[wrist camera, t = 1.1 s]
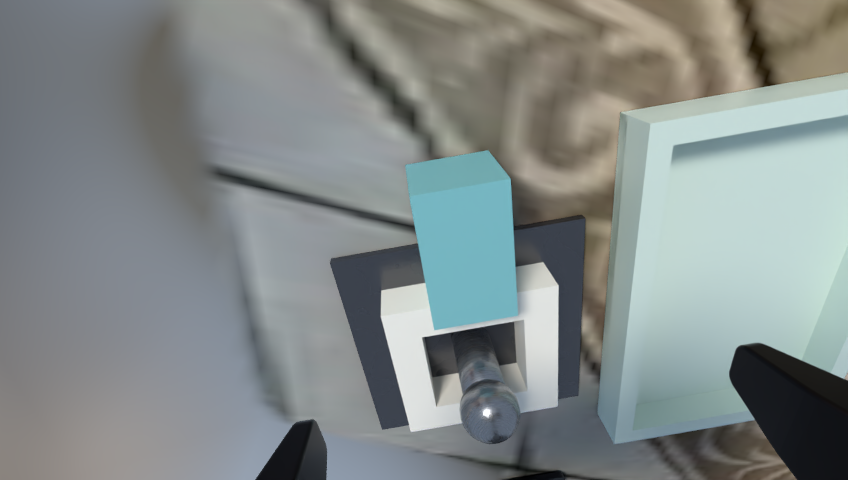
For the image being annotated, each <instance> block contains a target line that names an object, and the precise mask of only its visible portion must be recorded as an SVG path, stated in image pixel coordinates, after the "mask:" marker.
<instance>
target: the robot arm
mask: <svg viewBox="0 0 848 480" xmlns="http://www.w3.org/2000/svg"><path fill="white" fill-rule="evenodd" d="M729 377H730V381H731V383H732V385H733V387H734V388H735V390H736V391H737V393H738V394H739V396H740V397H741V399H742V400H743V402H744V404H745V405H746V407H747V408H748V410H749V411H750V413H751V414H752V416H753V417H754V419H755V420H756V422H757V424H758V425H759V427H760V428H761V430H762V431H763V433H764V434H765V436H766V437H767V439H768V440H769V442H770V443H771V445H772V446H773V448H774V449H775V451H776V452H777V454H778V455H779V456H780V458H781V459H782V460H783V462H784V463H785V464H786V466H787V467H788V468H789V470H790V471H791V472H792V473H793V475H794V476H795V477H796V479H797V480H848V380H845V379H843V378H841V377H839V376H836V375H834V374H832V373H829V372H827V371H825V370H823V369H820V368H818V367H816V366H813V365H811V364H809V363H807V362H804V361H802V360H800V359H797V358H795V357H793V356H791V355H788V354H786V353H784V352H781V351H779V350H777V349H774V348H772V347H770V346H768V345H765V344H763V343H750V344H744V345H740V346H738V347H737V348H736V350H735V353H734V356H733V360H732V363H731V367H730V370H729ZM326 470H327V448H326V443H325V441H324V438H323V436H322V433H321V431H320V429H319V426H318V424H317V422H316V421H315V420H312V419H311V420H305V421H299V422H296V423H295V424H294V425H293V426H292V427H291V429H290V430H289V432H288V433H287V435H286V436H285V437H284V439H283V440H282V442H281V443H280V445H279V446H278V448H277V449H276V450H275V452H274V453H273V455H272V456H271V458H270V459H269V461H268V462H267V464H266V465H265V466H264V468H263V469H262V471H261V472H260V474H259V475H258V477H257V478H256V479H255V480H326ZM513 480H565V478H564V476H563V473H561V472H554V473H548V474H542V475H536V476H531V477H525V478H519V479H513Z"/></svg>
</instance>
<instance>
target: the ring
mask: <svg viewBox="0 0 848 480" xmlns="http://www.w3.org/2000/svg"><path fill="white" fill-rule="evenodd" d="M405 167H406V175H407V182H408V190H409V197H410V203H411V208H412V214H413V219H414V224H415V230H416V235H417V241H418V246H419V251H420V257H421V262H422V268H423V273H424V278H425V283H421V284H416V285H410V286H404V287H398V288H393V289H387V290H381V319H382V323H383V327H384V331H385V335H386V339H387V342H388V346H389V350H390V354H391V358H392V361H393V365H394V369H395V373H396V377H397V380H398V384H399V388H400V392H401V396H402V399H403V403H404V407H405V411H406V415H407V418H408V422H409V426H410V430H411V432H414V431H420V430H426V429H432V428H437V427H443V426H449V425H455V424H460V423H462V421H461V418H460V411H459V408H460V401H461V398H462V395H463V393H462V388H461V384H460V379H459V374H458V373H455V374H449V375H444V376H438V377H432V373H431V368H430V363H429V358H428V353H427V348H426V343H425V338H424V337H428V336H433V335H439V334H445V333H451V332H456V331H462V330H468V329H473V328H479V327H485V326H491V325H496V324H502V323H508V322H514V328H515V344H516V360H517V363H513V364H507V365H501V366H499V367H500V370H501V373H502V376H503V379H504V382H505V384H506V385H507V386H508V387H509V388H510V389H511V390H512V391H513V392H514V394H515V396H516V397H517V400H518V402H519V406H520V413H524V412H529V411H535V410H541V409H547V408H552V407H558V294H559V285H558V284H557V282H556V281H555V279H554V278H553V276H552V275H551V273H550V272H549V270H548V269H547V267H546V266H545V264H544V263H543V262H541V263H536V264H530V265H524V266H518V267H515V249H514V231H513V213H512V194H511V178H510V177H509V176H508V175H507V173H506V172H505V171H504V170H503V168H502V167H501V166H500V165H499V163H498V162H497V161H496V160H495V158H494V157H493V156H492V155H491V153H490V152H489V151H488V150H487V151H482V152H476V153H470V154H465V155H459V156H453V157H448V158H442V159H436V160H430V161H425V162H419V163H413V164H408V165H405Z"/></svg>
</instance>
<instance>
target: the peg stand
mask: <svg viewBox="0 0 848 480" xmlns="http://www.w3.org/2000/svg"><path fill="white" fill-rule="evenodd" d="M513 231H514V249H515V267H518V266H524V265H530V264H536V263H541V262H543V263H544V264H545V266H546V267H547V269H548V270H549V272H550V273H551V275H552V276H553V278H554V279H555V281H556V282H557V284H558V285H559V294H558V399H561V398H567V397H573V396H578V385H579V360H580V336H581V311H582V287H583V263H584V238H585V218H584V217H583V216H582V215H578V216H572V217H566V218H561V219H555V220H549V221H544V222H538V223H532V224H526V225H521V226H515V227H513ZM330 264H331V268H332V271H333V274H334V277H335V280H336V284H337V287H338V290H339V293H340V296H341V300H342V303H343V306H344V309H345V312H346V315H347V319H348V322H349V325H350V328H351V331H352V335H353V338H354V341H355V344H356V347H357V351H358V354H359V357H360V360H361V363H362V366H363V370H364V373H365V376H366V379H367V382H368V386H369V389H370V392H371V395H372V398H373V401H374V405H375V408H376V411H377V414H378V417H379V421H380V424H381V427H382V430H383V429H389V428H395V427H400V426H406V425H409V422H408V418H407V415H406V411H405V407H404V403H403V399H402V396H401V392H400V388H399V384H398V380H397V377H396V373H395V369H394V365H393V361H392V358H391V354H390V350H389V346H388V342H387V339H386V335H385V331H384V327H383V323H382V319H381V290H387V289H393V288H398V287H404V286H410V285H416V284H421V283H425V278H424V273H423V268H422V262H421V257H420V251H419V246H418V244H412V245H407V246H401V247H395V248H389V249H384V250H378V251H372V252H367V253H361V254H355V255H349V256H344V257H338V258H332V259H331V261H330ZM424 338H425V343H426V348H427V353H428V358H429V363H430V368H431V373H432V377H438V376H444V375H449V374H455V373H458V374H459V379H460V384H461V388H462V393H463V395H462V398H461V401H460V408H459V411H460V418H461V421H462V424H463V426H464V428H465V429H466V431H467V432H468V433H469V434H470V435H471V436H472V437H473V438H475V439H476V440H478V441H480V442H483V443H487V444H496V443H500V442H503V441H505V440H507V439H508V438H509V437H510V436H511V435H513V433H514V432H515V430H516V429H517V426H518V424H519V420H520V406H519V402H518V400H517V397H516V396H515V394H514V392H513V391H512V390H511V389H510V388H509V387H508V386H507V385H506V384H505V382H504V379H503V376H502V373H501V370H500V367H499V366H501V365H507V364H513V363H517V360H516V344H515V328H514V322H508V323H502V324H496V325H491V326H485V327H479V328H473V329H468V330H462V331H456V332H451V333H445V334H439V335H433V336H428V337H424Z"/></svg>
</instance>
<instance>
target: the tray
mask: <svg viewBox="0 0 848 480" xmlns="http://www.w3.org/2000/svg"><path fill="white" fill-rule="evenodd" d="M750 343H763V344H765V345H768V346H770V347H772V348H774V349H777V350H779V351H781V352H784V353H786V354H788V355H791V356H793V357H795V358H797V359H800V360H802V361H804V362H807V363H809V364H811V365H813V366H816V367H818V368H820V369H823V370H825V371H827V372H829V373H832V374H834V375H836V376H839V377H841V378H843V379H844V378H845V376H846V374H847V372H848V72H847V73H842V74H836V75H830V76H824V77H819V78H813V79H807V80H802V81H796V82H790V83H785V84H779V85H773V86H768V87H762V88H756V89H751V90H745V91H739V92H733V93H728V94H722V95H716V96H711V97H705V98H699V99H694V100H688V101H682V102H677V103H671V104H665V105H659V106H654V107H648V108H642V109H637V110H631V111H625V112H620V125H619V138H618V151H617V164H616V177H615V190H614V203H613V216H612V229H611V242H610V256H609V269H608V282H607V295H606V308H605V321H604V334H603V347H602V360H601V373H600V386H599V399H598V412H597V413H598V415H599V417H600V419H601V421H602V423H603V424H604V426H605V428H606V430H607V432H608V434H609V436H610V437H611V439H612V441H613V443H614V444H620V443H626V442H631V441H637V440H643V439H649V438H654V437H660V436H666V435H672V434H677V433H683V432H689V431H695V430H700V429H706V428H712V427H718V426H723V425H729V424H735V423H741V422H747V421H752V420H755V419H754V417H753V416H752V414H751V413H750V411H749V410H748V408H747V407H746V405H745V404H744V402H743V400H742V399H741V397H740V396H739V394H738V393H737V391H736V390H735V388H734V387H733V385H732V383H731V381H730V377H729V370H730V367H731V363H732V360H733V356H734V353H735V350H736V348H737V347H738V346H740V345H744V344H750Z"/></svg>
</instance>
